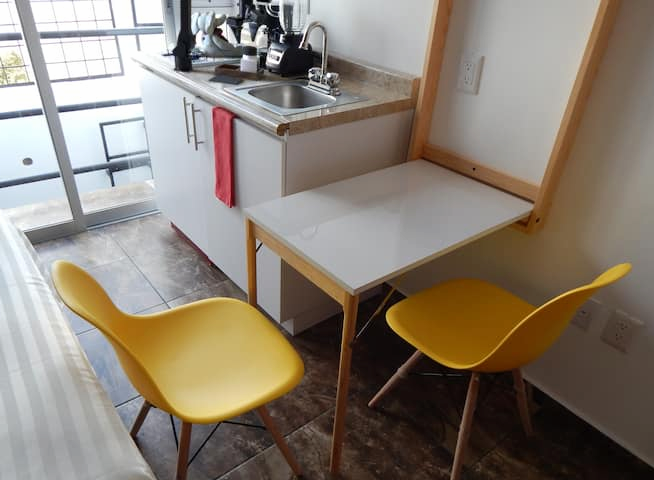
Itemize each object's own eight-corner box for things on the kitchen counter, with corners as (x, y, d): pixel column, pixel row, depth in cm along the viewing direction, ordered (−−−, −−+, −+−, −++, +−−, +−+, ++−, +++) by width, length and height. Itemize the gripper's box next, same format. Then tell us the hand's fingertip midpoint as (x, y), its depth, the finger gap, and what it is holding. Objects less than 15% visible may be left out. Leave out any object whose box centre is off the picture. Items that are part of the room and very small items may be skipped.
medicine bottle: (257, 78, 210) (257, 48, 203) (240, 76, 210) (240, 47, 203) (258, 74, 216) (259, 45, 209) (243, 73, 216) (242, 44, 209)
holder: (215, 74, 211) (214, 67, 209) (223, 70, 219) (223, 63, 218) (257, 80, 208) (257, 73, 207) (264, 75, 217) (264, 68, 215)
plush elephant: (223, 48, 259) (222, 5, 248) (248, 56, 247) (248, 11, 235) (179, 52, 243) (175, 5, 232) (203, 61, 231) (201, 12, 219)
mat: (208, 80, 202) (208, 79, 202) (217, 76, 209) (216, 75, 209) (236, 84, 200) (236, 83, 200) (243, 79, 208) (243, 78, 207)
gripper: (247, 4, 184) (246, 48, 193) (275, 2, 198) (274, 43, 207) (224, 0, 189) (225, 43, 198) (254, -2, 202) (254, 39, 211)
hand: (246, 42), depth 203 cm, fingers open, 9 cm apart
